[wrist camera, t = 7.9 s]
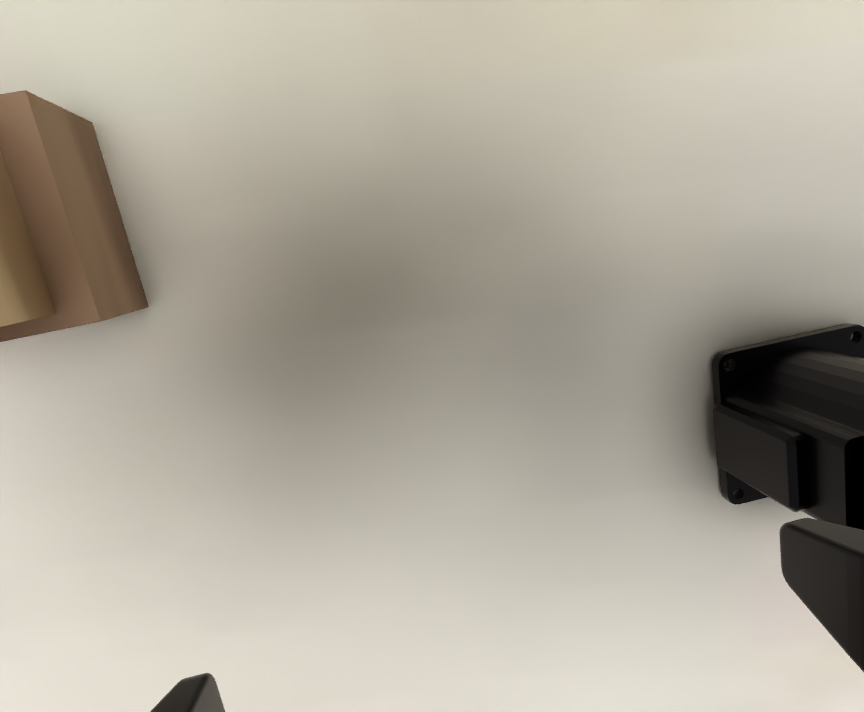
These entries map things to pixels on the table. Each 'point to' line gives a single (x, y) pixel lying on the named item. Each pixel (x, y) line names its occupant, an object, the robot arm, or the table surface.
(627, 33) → the table surface
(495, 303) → the table surface
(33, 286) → the oak block
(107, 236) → the walnut block
